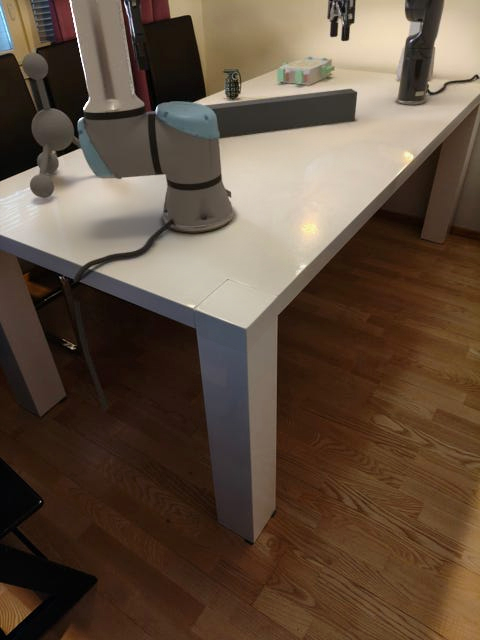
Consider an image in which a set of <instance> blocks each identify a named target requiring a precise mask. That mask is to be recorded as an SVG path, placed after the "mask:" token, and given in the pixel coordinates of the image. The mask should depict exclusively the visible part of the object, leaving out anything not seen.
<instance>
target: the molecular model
mask: <svg viewBox="0 0 480 640" xmlns="http://www.w3.org/2000/svg"><path fill="white" fill-rule="evenodd" d="M21 67H22V71H23V72H24V74H25V75H26V76H27V77H28V78H30V79H32V80H34V81H35V82H36V87H37V89H38V90H37V91H38V94H39V97H40V100H41V105H42V107H43V109H40V111H38V112H36V114H35V115H34V116H33V119H32V122H31V133H32V136H33V138H34V139H35V141H36V142H37V144H38V145H39V146H41V147H42V152H41V153H39V155H38V156H37V159H36V164H37V166H38V169H39V173H38V174H35V175H34V176H32V178H31V179H30V181H29V188H30V191H31V192H32V194H33V195H34V196H36V197H38V198H41V199H45V198H48V197H50V196H52V195H53V193H54V191H55V183H54V181H53V180H52V178H51V177H50V176H48V175H47V174H52V173H55V172H56V171H57V170H58V169H59V165H60V162H59V161H60V160H59V159H58V157H57V155H56V154H54V153H53V152H58V151H63V150H65V149H67V148H68V147H69V146H70V145H71V144H74V145H75V146H77V148H79V149H80V150H82V148H81V145H80V141H79V138H78V137H76V136H75V128H74V125H73V122H72V121H71V119H70V118H69V116H68V115H67V114H65V113H64V112H63V111H61V110H59V109H56V108H51V105H50V102H49V98H48V95H47V91H46V87H45V83H44V80H43V79H44V78H46V76H47V75H48V72H49V65H48V62H47V60H46V59H45V58H44V57H43V56H42V55H41V54H40V53H37V52H29V53H27V54H25V55H24V57H23V58H22V61H21Z"/></svg>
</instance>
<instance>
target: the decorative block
mask: <svg viewBox="0 0 480 640" xmlns="http://www.w3.org/2000/svg"><path fill="white" fill-rule="evenodd" d="M335 67H336V66H335V65H333V58H327V57H322V58H320V57H312V56H308V57H306V58H303V59H297V60H295V61H292V62H287V61H286V62H282V65H281V66H279V68H277V71H276V72H277V77H276V78H277V80H276V81H277V82H279V83H288V84H298V85H307V86H311V85H312V84H315V83H317V82H320V81H322V80H324V79H326V78H328V77H329V76H330V75H331V74H332V72H333V71H335Z"/></svg>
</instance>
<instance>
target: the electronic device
mask: <svg viewBox="0 0 480 640" xmlns="http://www.w3.org/2000/svg"><path fill="white" fill-rule="evenodd" d="M422 24H423V23H417V22H410V21H409V30H408V36H410V35H414V34H416V33H418V32H419V31H420V30H421V28H422ZM404 50H405V45H404V46H403V48H402V50H401V54H400V58H399V61H398V64H397V68H396V78H397V79H398V81H400V79H401V71H402V64H403V57H404ZM435 56H436V47H435V46H434V50H433V55H432V61H431V67H430V73H429V79H428V81H430V80H431V79H432V78H433V76H434V66H435Z"/></svg>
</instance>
